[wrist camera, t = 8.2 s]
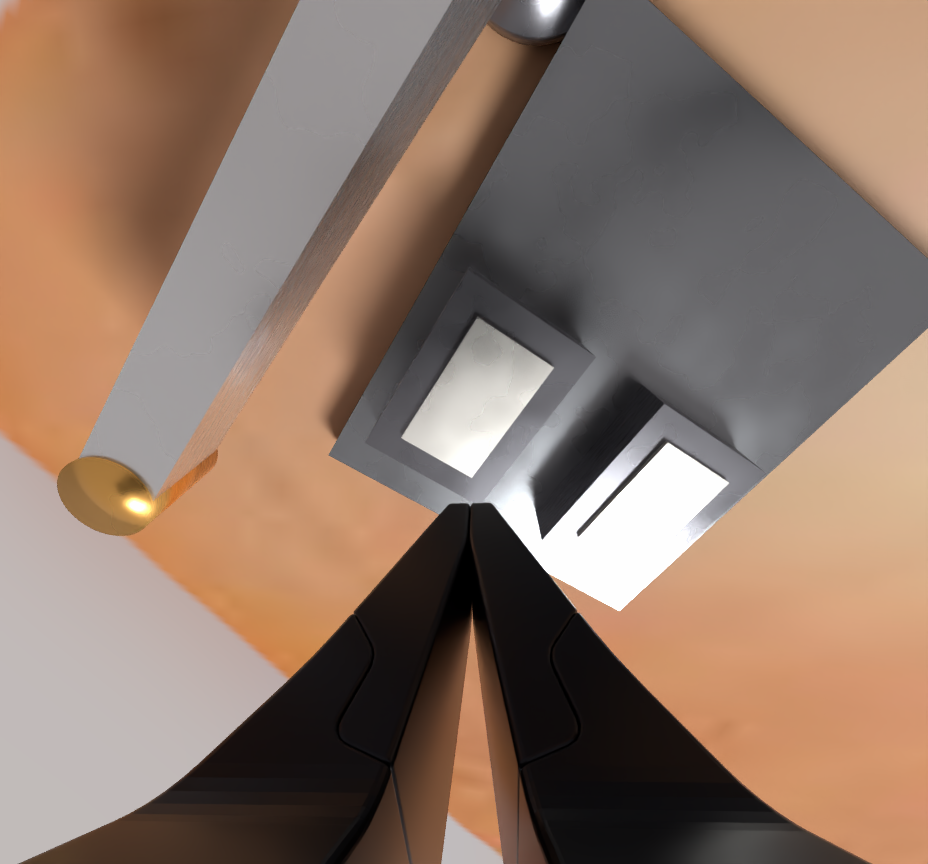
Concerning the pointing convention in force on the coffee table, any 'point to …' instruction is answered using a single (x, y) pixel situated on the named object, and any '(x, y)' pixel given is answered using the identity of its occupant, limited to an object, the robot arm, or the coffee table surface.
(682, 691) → the coffee table surface
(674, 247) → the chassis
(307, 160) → the cable arm
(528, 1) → the pivot post
